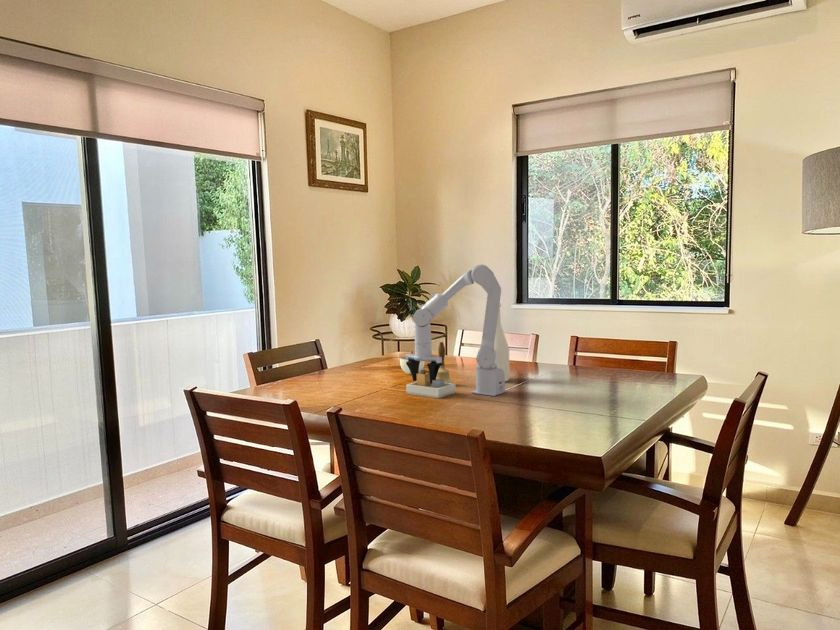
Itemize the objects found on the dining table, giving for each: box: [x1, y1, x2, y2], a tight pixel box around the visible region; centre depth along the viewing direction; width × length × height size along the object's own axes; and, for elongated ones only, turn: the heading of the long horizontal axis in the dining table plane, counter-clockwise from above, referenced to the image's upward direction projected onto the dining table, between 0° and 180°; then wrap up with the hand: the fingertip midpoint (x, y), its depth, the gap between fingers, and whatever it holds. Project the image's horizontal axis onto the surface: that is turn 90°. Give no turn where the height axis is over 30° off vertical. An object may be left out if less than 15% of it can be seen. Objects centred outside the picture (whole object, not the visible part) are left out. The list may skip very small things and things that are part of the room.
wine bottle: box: [494, 302, 511, 383], centre depth 230 cm, size 10×10×30 cm
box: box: [405, 379, 457, 399], centre depth 212 cm, size 14×10×5 cm
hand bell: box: [436, 341, 455, 384], centre depth 226 cm, size 8×8×16 cm
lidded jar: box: [398, 350, 426, 375], centre depth 252 cm, size 11×11×9 cm
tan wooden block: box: [416, 369, 431, 386], centre depth 214 cm, size 4×4×7 cm
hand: (424, 381), depth 214 cm, fingers open, 7 cm apart
